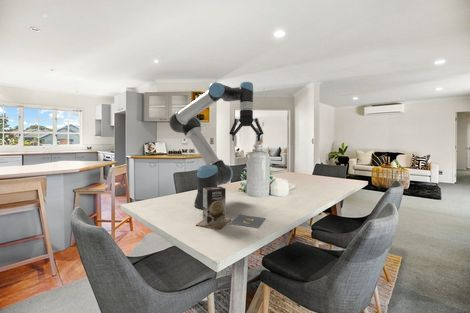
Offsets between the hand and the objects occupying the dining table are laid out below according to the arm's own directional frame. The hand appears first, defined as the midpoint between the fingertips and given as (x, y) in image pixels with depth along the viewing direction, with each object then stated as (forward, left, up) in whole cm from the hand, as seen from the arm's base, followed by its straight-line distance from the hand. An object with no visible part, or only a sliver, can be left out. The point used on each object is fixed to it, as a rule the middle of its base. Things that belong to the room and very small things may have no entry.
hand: (245, 146), depth 136 cm
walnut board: (-4, -34, -35) cm, 49 cm away
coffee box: (-4, -34, -34) cm, 48 cm away
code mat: (+10, -25, -35) cm, 44 cm away
